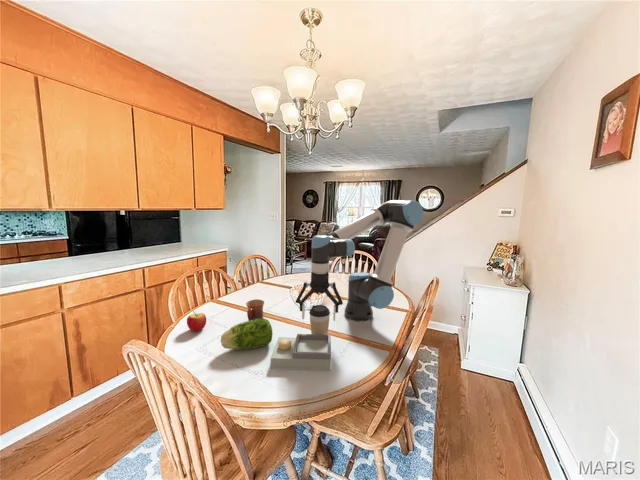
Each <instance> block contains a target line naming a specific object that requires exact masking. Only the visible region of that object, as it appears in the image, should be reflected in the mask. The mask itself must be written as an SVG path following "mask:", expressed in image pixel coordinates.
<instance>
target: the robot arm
mask: <svg viewBox="0 0 640 480" xmlns="http://www.w3.org/2000/svg"><path fill="white" fill-rule="evenodd" d="M423 218H424V209H423V206H422V205H421V203H420V202H418V201H417V200H414V199H413V200H411V199H391V200H387V201H385V202H383V203H381V204H379V205H377V206H375V207H374V208H372V209H371V210H370V212H368V213H366V214H364V215H363V216H361V217H359V218H357V219H355V220H353V221H352V222H349V223H348V224H346V225H344V226H342V227H340V228H338V229H336V230H335V231H332V232H330V233H329V234H321V235H319V234H318V235H314V236H312V238H311V263H310V264H311V266H310V268H311V269H310V271H311V272H310V282H308V281H307V280H306V281H305V280H304V281H303V286H302V288H301V289H300V292H299V294H298V295H297V297H296V300H295V303H296V304H299V311H300V312H301V314H302V315H301V320H305V307H306V306H305V305H306V304H305V302H306V301H307V300H308V299H309V297H311V296H312V295H313V294H314V293H315V294H324V293H325V295H326V296H327V297H328V298H329V299H330V301H332V303H333V321H334V322H335V321H336V313H339V306H342V305H343V304H344V303H343V299H342V298H341V295H340V293H339V291H338V289H337V286H336V285H337V284H336V282H332V283H330V282H329V278H330V277H329V275H330V269H329V268H330V258H341V257H346V258H347V257H351V256H353V255H354V254H355V251H356V246H355V243H354V240H353V239H355V238H356V237H358V236H360V235H361V234H364V233H366V232H367V231H369V230H371V229H373V228H375V227H376V226H383V225H384V224H387V223H388V224H389V227H390V228H389V231H388V234H387V236H386V240H385V241H384V244H383V247H382V251H381V253H380V255H379V257H378V258H379V259H378V260H377V264H376V266H375V269H374V271H373V273H372V274H371V273H370V272H354V273H351V274H349V275H348V280H347V282H348V287H347V289H348V292H347V293H348V294H347V302H346V305H345V308H344V316H345V317H346V318H347V319H349V320H352V321H355V322H357V321H358V322H365V321H369V320H371V319H372V318H373V316H374V312H373V308H376V309H378V310H381V309H386V308H387V307H389V306H390V305H391V303H392V302H393V299H394V297H395V293H394V290H393V288H392V287H393V284H394V283H393V281H392V278H393V275H394V272H395V269H396V267H397V264H398V261H399V258H400V256H401V254H402V251H403V248H404V245H405V242H406V241H407V237H408V235H409V233H411V232H412V231H413V230H414V227H415V226H418V225H419V224H420V223H422V221H423ZM308 287H310V288H311V289H310V290H309V291H308V292H307V293H306V294H305V295H304V293H305V291H306V289H307V288H308ZM329 288H331V289H332V291H333V292H334V293H333V294H335V297H334V295H333V294H332V293H331V291H330V290H329ZM303 295H304V296H303ZM301 298H302V299H301Z"/></svg>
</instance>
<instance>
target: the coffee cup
mask: <svg viewBox="0 0 640 480" xmlns="http://www.w3.org/2000/svg"><path fill="white" fill-rule="evenodd" d="M308 314H309V321H310V322H309V323H310V332H311V333H310V334H321V335H329V334H328V332H329V324H330V314H331V312H330V309H329V308H328V306H326V305H324V304H323V305H322V304H317V305H315V304H314V305H313V306H312V307H311V308H310V309H309V313H308Z"/></svg>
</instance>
